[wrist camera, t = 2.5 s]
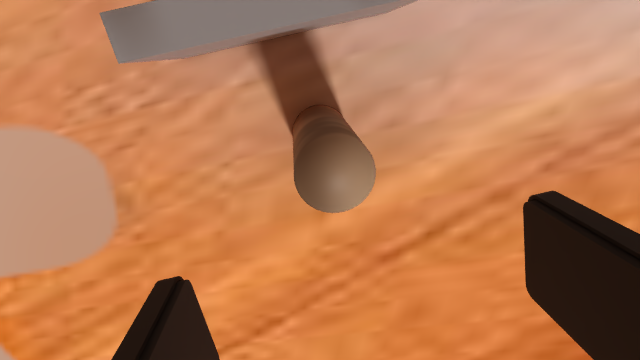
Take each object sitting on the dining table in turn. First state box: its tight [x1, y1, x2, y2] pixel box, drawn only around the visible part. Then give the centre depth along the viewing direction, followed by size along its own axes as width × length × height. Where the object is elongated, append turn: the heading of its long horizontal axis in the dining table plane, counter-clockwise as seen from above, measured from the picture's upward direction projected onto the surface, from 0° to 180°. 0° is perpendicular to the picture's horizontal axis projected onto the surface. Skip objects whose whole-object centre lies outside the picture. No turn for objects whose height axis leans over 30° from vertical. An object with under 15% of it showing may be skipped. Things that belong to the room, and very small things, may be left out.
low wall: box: [100, 0, 418, 64], centre depth 20 cm, size 14×2×10 cm, turn 102°
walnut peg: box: [293, 105, 376, 213], centre depth 23 cm, size 4×4×10 cm
